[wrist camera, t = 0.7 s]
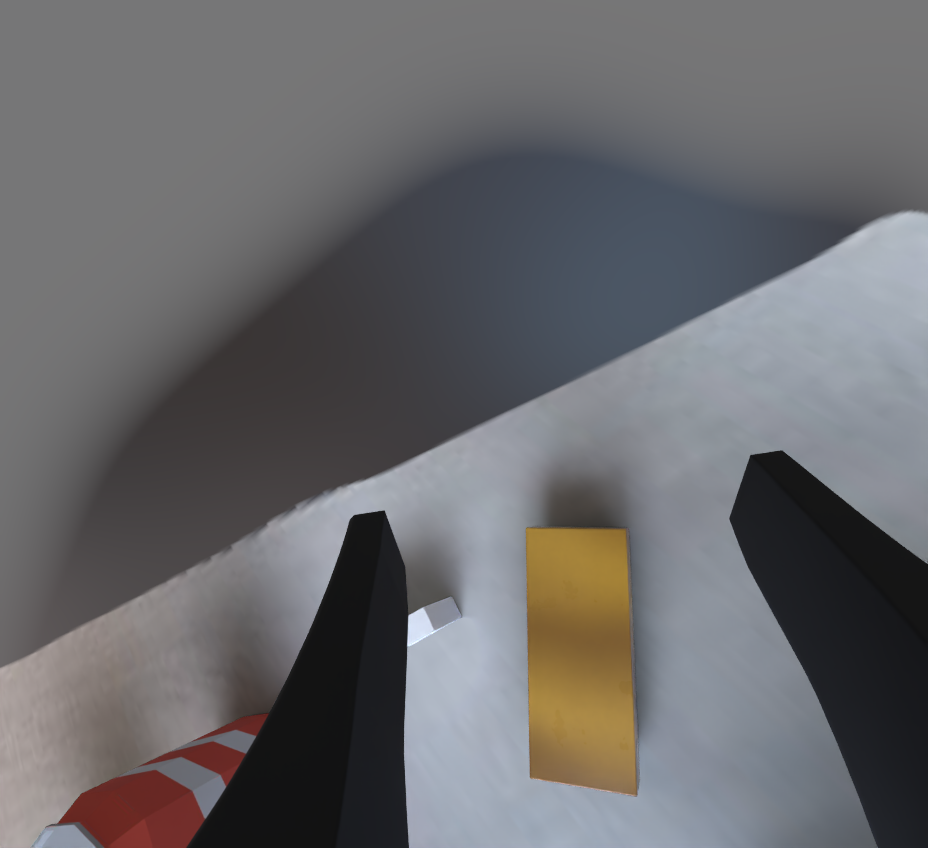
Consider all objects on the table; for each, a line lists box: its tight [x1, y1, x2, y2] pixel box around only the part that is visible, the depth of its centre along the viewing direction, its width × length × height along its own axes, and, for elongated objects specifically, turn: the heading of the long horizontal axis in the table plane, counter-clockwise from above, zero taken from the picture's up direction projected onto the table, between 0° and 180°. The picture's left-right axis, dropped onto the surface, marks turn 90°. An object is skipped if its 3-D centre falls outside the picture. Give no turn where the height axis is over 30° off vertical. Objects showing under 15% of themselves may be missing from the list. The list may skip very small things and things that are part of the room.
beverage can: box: [31, 713, 269, 848], centre depth 27 cm, size 6×6×12 cm
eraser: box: [407, 596, 462, 647], centre depth 29 cm, size 1×5×4 cm, turn 118°
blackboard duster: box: [526, 527, 640, 797], centre depth 26 cm, size 11×5×3 cm, turn 179°
